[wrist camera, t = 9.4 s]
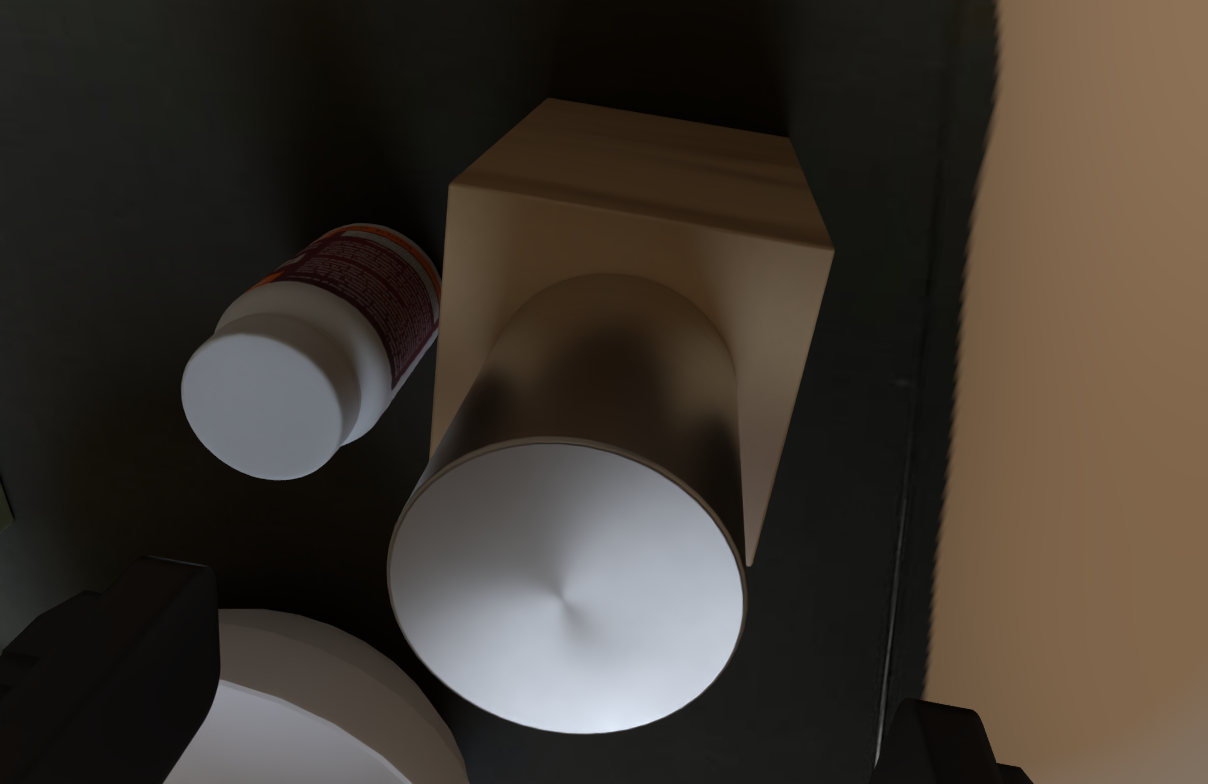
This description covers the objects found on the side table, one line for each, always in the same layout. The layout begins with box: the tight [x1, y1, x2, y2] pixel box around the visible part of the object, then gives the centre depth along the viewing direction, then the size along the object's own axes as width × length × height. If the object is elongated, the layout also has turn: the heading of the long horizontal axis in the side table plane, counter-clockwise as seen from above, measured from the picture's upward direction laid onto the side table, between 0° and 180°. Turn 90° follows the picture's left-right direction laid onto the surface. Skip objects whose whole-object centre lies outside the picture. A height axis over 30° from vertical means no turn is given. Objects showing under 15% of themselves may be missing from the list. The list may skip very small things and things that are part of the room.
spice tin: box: [387, 273, 748, 735], centre depth 15 cm, size 5×5×6 cm
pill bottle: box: [181, 223, 442, 480], centre depth 26 cm, size 5×5×8 cm
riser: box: [429, 98, 835, 566], centre depth 23 cm, size 7×7×11 cm
